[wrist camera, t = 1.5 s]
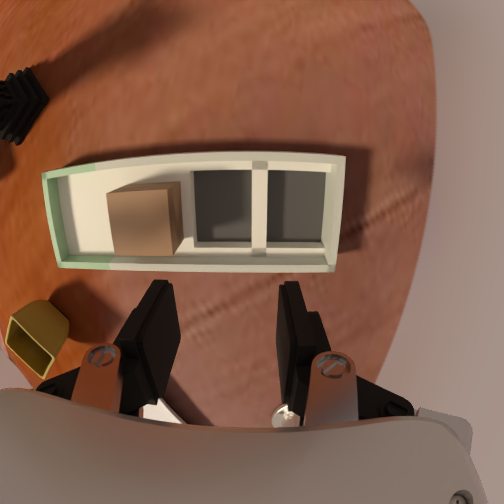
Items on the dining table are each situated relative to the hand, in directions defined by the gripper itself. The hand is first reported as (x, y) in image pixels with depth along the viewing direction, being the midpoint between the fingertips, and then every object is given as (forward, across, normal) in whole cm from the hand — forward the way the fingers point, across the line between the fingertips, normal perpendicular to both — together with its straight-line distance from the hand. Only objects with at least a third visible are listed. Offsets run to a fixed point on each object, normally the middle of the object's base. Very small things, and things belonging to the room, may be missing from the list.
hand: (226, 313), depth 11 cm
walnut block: (+17, +9, 0) cm, 20 cm away
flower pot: (+20, +31, +17) cm, 40 cm away
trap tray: (+19, +6, 0) cm, 20 cm away
